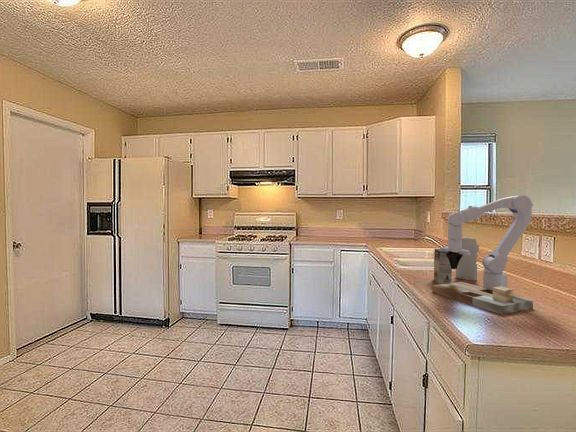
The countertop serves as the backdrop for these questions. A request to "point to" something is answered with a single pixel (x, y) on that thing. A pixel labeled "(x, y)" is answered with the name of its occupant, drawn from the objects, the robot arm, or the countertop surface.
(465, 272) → the grey upright slab
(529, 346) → the countertop surface
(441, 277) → the coffee box
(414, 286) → the countertop surface
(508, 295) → the block
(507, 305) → the trap board
